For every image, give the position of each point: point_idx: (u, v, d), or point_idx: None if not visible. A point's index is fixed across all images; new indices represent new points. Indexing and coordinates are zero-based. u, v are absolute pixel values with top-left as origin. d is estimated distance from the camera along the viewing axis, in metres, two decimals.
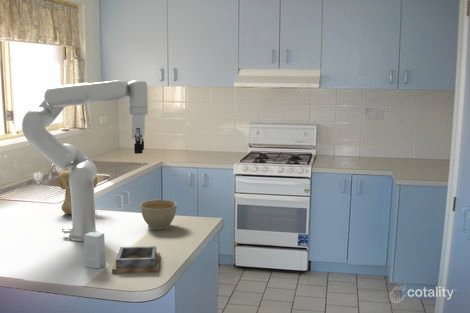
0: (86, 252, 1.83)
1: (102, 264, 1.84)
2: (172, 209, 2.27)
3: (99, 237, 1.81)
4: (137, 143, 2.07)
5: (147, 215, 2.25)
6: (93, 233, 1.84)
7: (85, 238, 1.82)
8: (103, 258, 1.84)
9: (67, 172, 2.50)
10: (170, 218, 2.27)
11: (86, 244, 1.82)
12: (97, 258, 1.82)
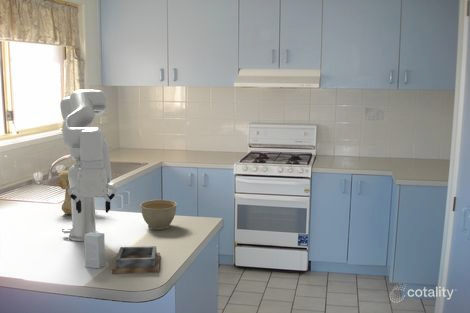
0: (86, 252, 1.83)
1: (102, 264, 1.84)
2: (172, 209, 2.27)
3: (99, 237, 1.81)
4: None
5: (147, 215, 2.25)
6: (93, 233, 1.84)
7: (85, 238, 1.82)
8: (103, 258, 1.84)
9: (67, 172, 2.50)
10: (170, 218, 2.27)
11: (86, 244, 1.82)
12: (97, 258, 1.82)
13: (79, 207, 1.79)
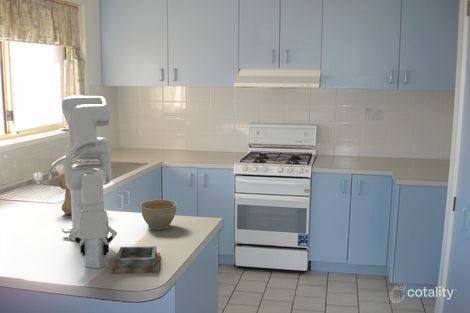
0: (86, 252, 1.83)
1: (102, 264, 1.84)
2: (172, 209, 2.27)
3: None
4: (109, 242, 1.84)
5: (147, 215, 2.25)
6: None
7: None
8: (103, 258, 1.84)
9: None
10: (170, 218, 2.27)
11: (86, 244, 1.82)
12: (97, 258, 1.81)
13: (83, 250, 1.82)
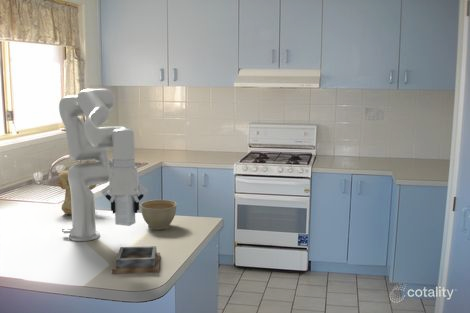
0: (116, 210, 1.81)
1: (132, 222, 1.82)
2: (172, 209, 2.27)
3: None
4: (139, 200, 1.82)
5: (147, 215, 2.25)
6: None
7: None
8: (133, 216, 1.83)
9: (67, 172, 2.50)
10: (170, 218, 2.27)
11: (116, 201, 1.81)
12: (128, 215, 1.80)
13: (114, 207, 1.81)
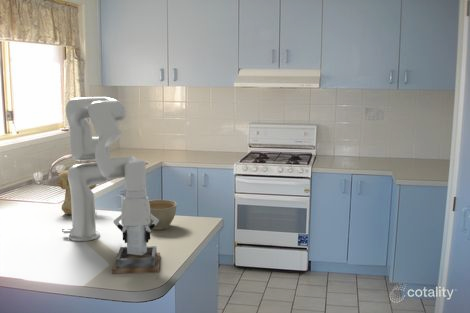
0: (128, 239, 1.84)
1: (144, 251, 1.85)
2: (172, 209, 2.27)
3: None
4: (150, 230, 1.85)
5: None
6: None
7: None
8: (145, 245, 1.85)
9: (67, 172, 2.50)
10: (170, 218, 2.27)
11: (128, 231, 1.83)
12: (140, 245, 1.82)
13: (126, 237, 1.83)
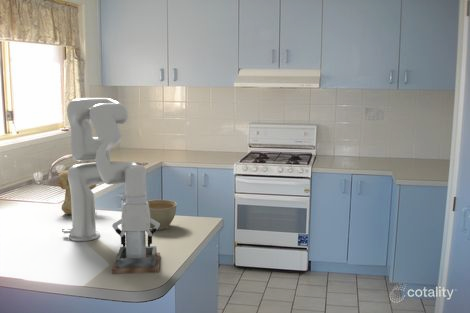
0: (128, 247, 1.84)
1: None
2: (172, 209, 2.27)
3: (141, 232, 1.83)
4: (152, 234, 1.85)
5: None
6: None
7: (127, 233, 1.83)
8: (144, 253, 1.86)
9: (67, 172, 2.50)
10: (170, 218, 2.27)
11: (128, 239, 1.84)
12: (139, 252, 1.83)
13: (124, 241, 1.83)
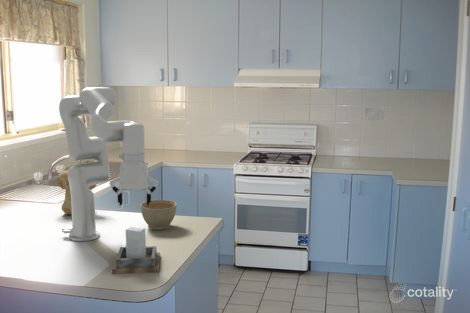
0: (128, 247, 1.84)
1: None
2: (172, 209, 2.27)
3: (141, 232, 1.83)
4: (151, 192, 1.84)
5: (147, 215, 2.25)
6: (134, 228, 1.85)
7: (127, 233, 1.83)
8: (144, 253, 1.86)
9: (67, 172, 2.50)
10: (170, 218, 2.27)
11: (128, 239, 1.84)
12: (139, 252, 1.83)
13: (121, 199, 1.82)
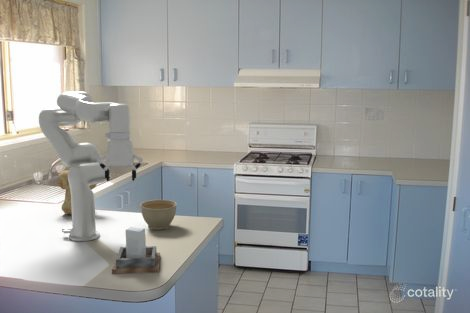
0: (128, 247, 1.84)
1: None
2: (172, 209, 2.27)
3: (141, 232, 1.83)
4: None
5: (147, 215, 2.25)
6: (134, 228, 1.85)
7: (127, 233, 1.83)
8: (144, 253, 1.86)
9: (67, 172, 2.50)
10: (170, 218, 2.27)
11: (128, 239, 1.84)
12: (139, 252, 1.83)
13: (108, 175, 1.95)
